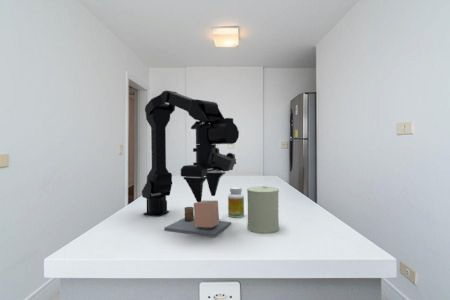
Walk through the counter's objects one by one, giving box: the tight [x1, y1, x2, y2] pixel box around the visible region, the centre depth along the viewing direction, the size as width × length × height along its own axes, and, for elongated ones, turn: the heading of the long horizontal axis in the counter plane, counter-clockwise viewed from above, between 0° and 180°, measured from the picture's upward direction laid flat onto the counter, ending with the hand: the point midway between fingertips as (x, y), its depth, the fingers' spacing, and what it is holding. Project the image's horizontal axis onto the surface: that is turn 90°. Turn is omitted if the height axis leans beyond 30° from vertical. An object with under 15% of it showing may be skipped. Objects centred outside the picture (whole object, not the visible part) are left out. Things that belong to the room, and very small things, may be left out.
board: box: [163, 217, 232, 238], centre depth 78 cm, size 16×12×1 cm
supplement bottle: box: [227, 186, 245, 219], centre depth 90 cm, size 5×5×10 cm
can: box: [246, 186, 280, 234], centre depth 77 cm, size 9×9×12 cm
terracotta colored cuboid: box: [193, 199, 220, 227], centre depth 76 cm, size 5×5×7 cm
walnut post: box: [184, 206, 194, 222], centre depth 83 cm, size 3×3×4 cm
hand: (206, 198), depth 76 cm, fingers open, 9 cm apart
